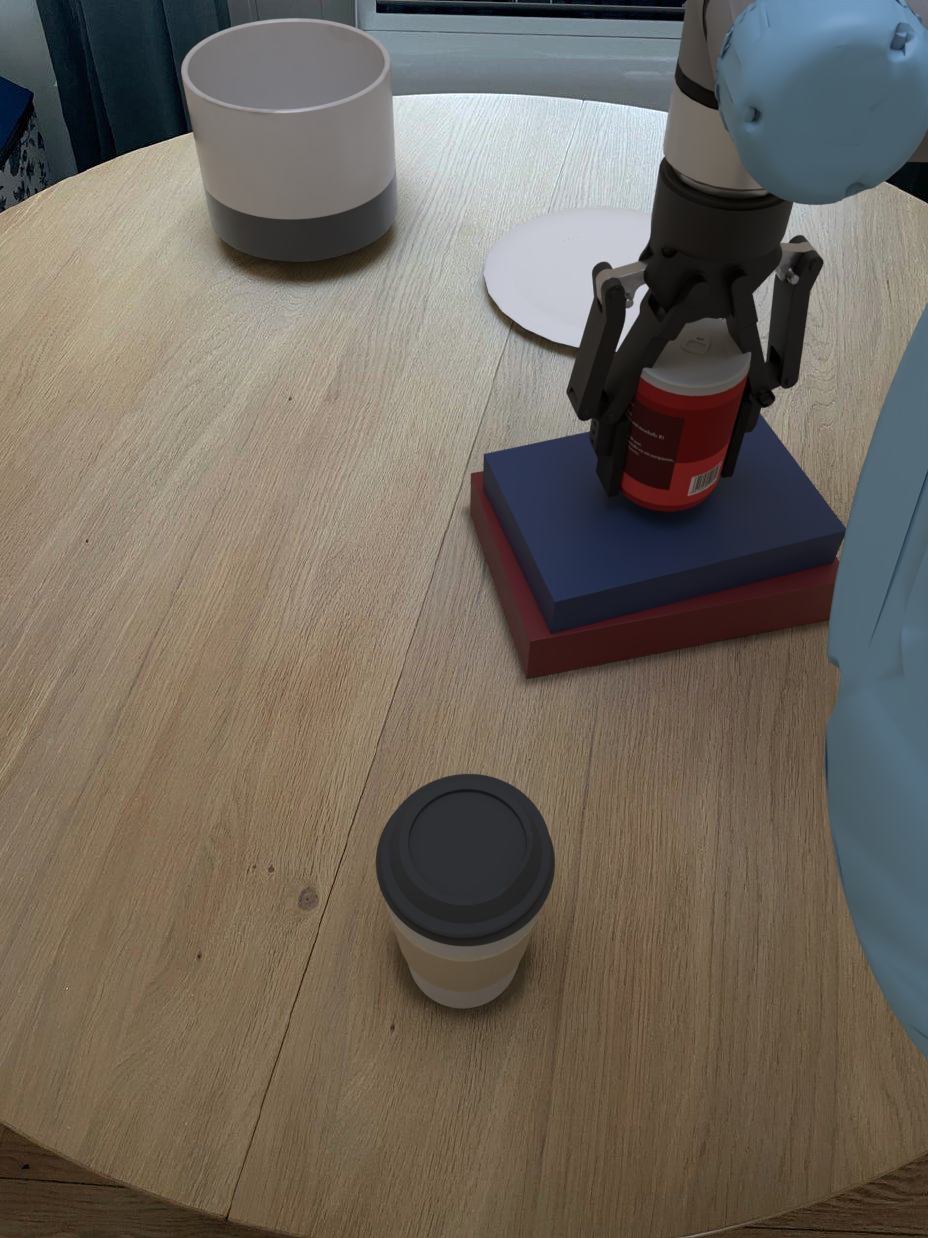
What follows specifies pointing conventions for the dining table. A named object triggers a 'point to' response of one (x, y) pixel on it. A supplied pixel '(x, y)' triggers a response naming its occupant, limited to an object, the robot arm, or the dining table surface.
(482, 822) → the coffee cup
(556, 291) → the plate
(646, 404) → the canned food
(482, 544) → the book stack
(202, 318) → the dining table surface
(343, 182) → the planter
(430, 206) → the dining table surface
